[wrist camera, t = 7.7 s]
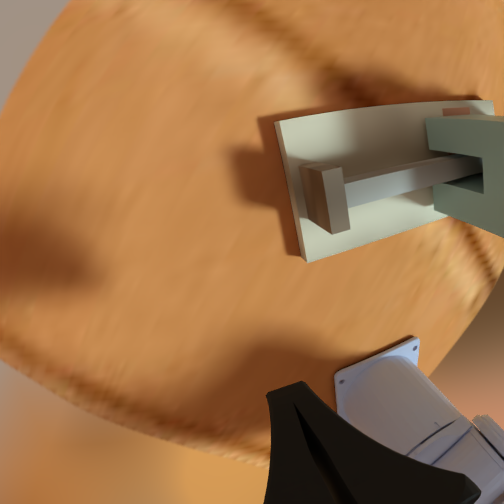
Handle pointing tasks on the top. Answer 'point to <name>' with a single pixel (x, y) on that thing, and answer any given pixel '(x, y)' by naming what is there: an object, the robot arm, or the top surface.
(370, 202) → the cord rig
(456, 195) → the sleeve
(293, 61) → the top surface
